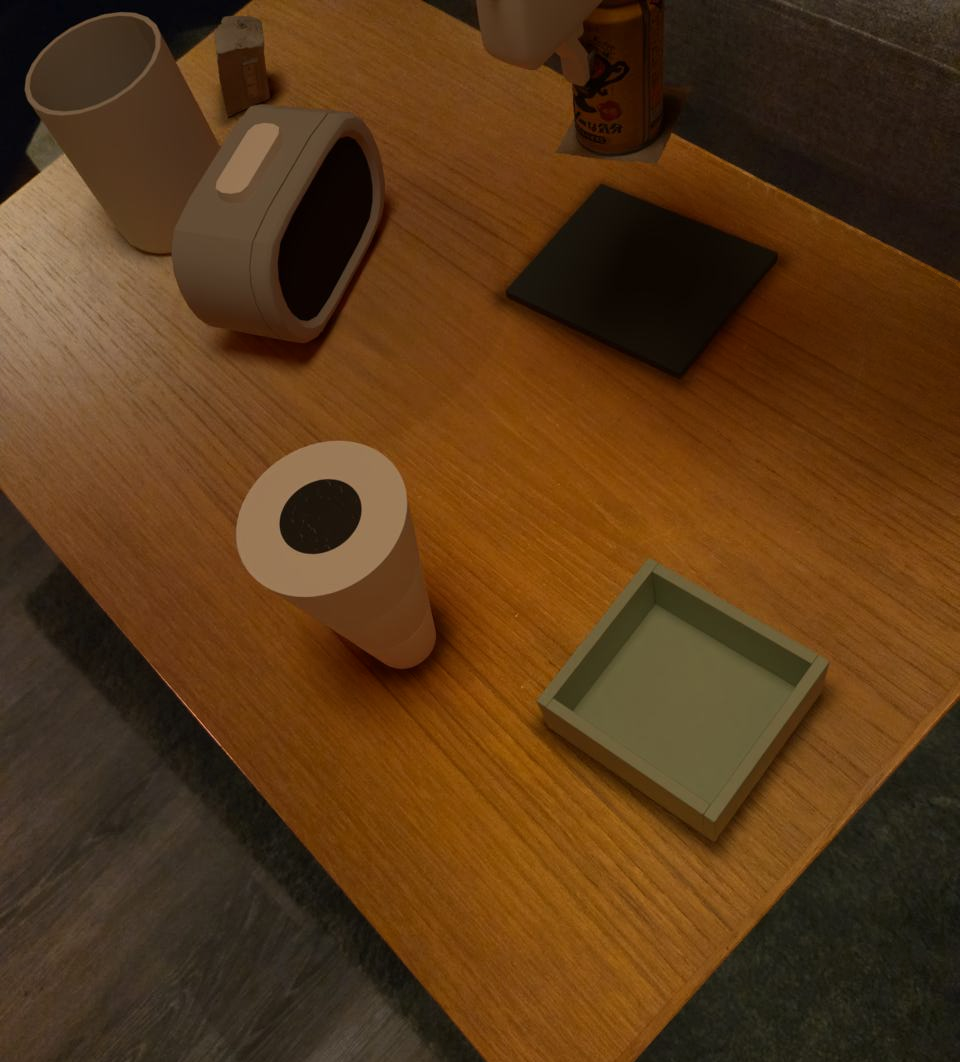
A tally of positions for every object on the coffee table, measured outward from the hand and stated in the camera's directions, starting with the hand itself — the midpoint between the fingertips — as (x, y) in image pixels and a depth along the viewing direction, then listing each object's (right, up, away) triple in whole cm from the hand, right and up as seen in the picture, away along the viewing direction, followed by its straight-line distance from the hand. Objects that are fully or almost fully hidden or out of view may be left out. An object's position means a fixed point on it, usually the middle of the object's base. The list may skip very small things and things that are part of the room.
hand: (616, 39), depth 63 cm
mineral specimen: (-33, +19, +42) cm, 56 cm away
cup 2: (-14, -39, +11) cm, 43 cm away
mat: (+5, -8, +20) cm, 22 cm away
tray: (+5, -44, +4) cm, 44 cm away
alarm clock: (-24, -5, +29) cm, 38 cm away
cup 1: (-40, +7, +38) cm, 56 cm away
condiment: (+1, -3, +6) cm, 6 cm away
